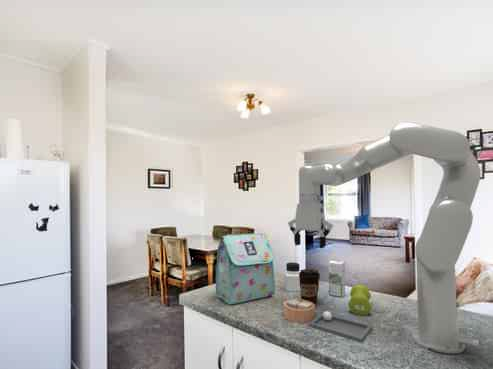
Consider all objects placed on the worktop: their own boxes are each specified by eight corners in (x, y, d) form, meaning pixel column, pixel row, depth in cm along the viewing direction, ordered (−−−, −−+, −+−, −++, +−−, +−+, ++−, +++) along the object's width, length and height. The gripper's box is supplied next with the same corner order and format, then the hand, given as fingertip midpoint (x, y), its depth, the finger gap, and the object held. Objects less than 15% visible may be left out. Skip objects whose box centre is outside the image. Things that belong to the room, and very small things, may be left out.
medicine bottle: (302, 291, 128) (301, 264, 128) (286, 291, 128) (286, 264, 129) (299, 286, 135) (299, 261, 136) (284, 286, 135) (284, 261, 136)
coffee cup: (320, 308, 108) (320, 273, 109) (298, 306, 110) (298, 272, 111) (319, 300, 117) (319, 268, 118) (299, 298, 118) (298, 267, 119)
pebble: (333, 320, 96) (333, 311, 97) (330, 323, 94) (329, 313, 94) (324, 317, 98) (324, 309, 98) (321, 320, 96) (321, 311, 96)
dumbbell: (350, 300, 117) (349, 282, 118) (371, 303, 114) (370, 285, 114) (347, 315, 102) (347, 294, 103) (371, 319, 99) (371, 298, 99)
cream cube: (312, 316, 99) (311, 303, 99) (306, 320, 96) (306, 306, 96) (302, 314, 101) (302, 301, 102) (297, 317, 98) (297, 304, 98)
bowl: (319, 316, 100) (319, 303, 101) (306, 326, 92) (306, 312, 92) (293, 309, 107) (293, 297, 107) (278, 318, 99) (278, 305, 99)
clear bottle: (345, 294, 125) (345, 260, 125) (342, 298, 120) (341, 263, 120) (332, 291, 128) (332, 259, 129) (328, 295, 123) (328, 261, 124)
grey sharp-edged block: (301, 314, 101) (301, 301, 101) (295, 318, 98) (295, 304, 98) (293, 312, 103) (292, 299, 103) (287, 315, 100) (286, 302, 100)
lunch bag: (229, 308, 108) (230, 237, 109) (212, 295, 122) (213, 232, 124) (278, 297, 120) (278, 233, 121) (257, 287, 134) (257, 230, 135)
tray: (372, 330, 90) (372, 325, 90) (362, 344, 81) (361, 338, 81) (322, 317, 100) (322, 312, 100) (308, 328, 91) (308, 323, 92)
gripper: (336, 199, 102) (336, 247, 101) (293, 199, 113) (293, 242, 112) (327, 199, 96) (328, 250, 95) (283, 199, 107) (283, 245, 106)
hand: (309, 246), depth 104 cm, fingers open, 9 cm apart
